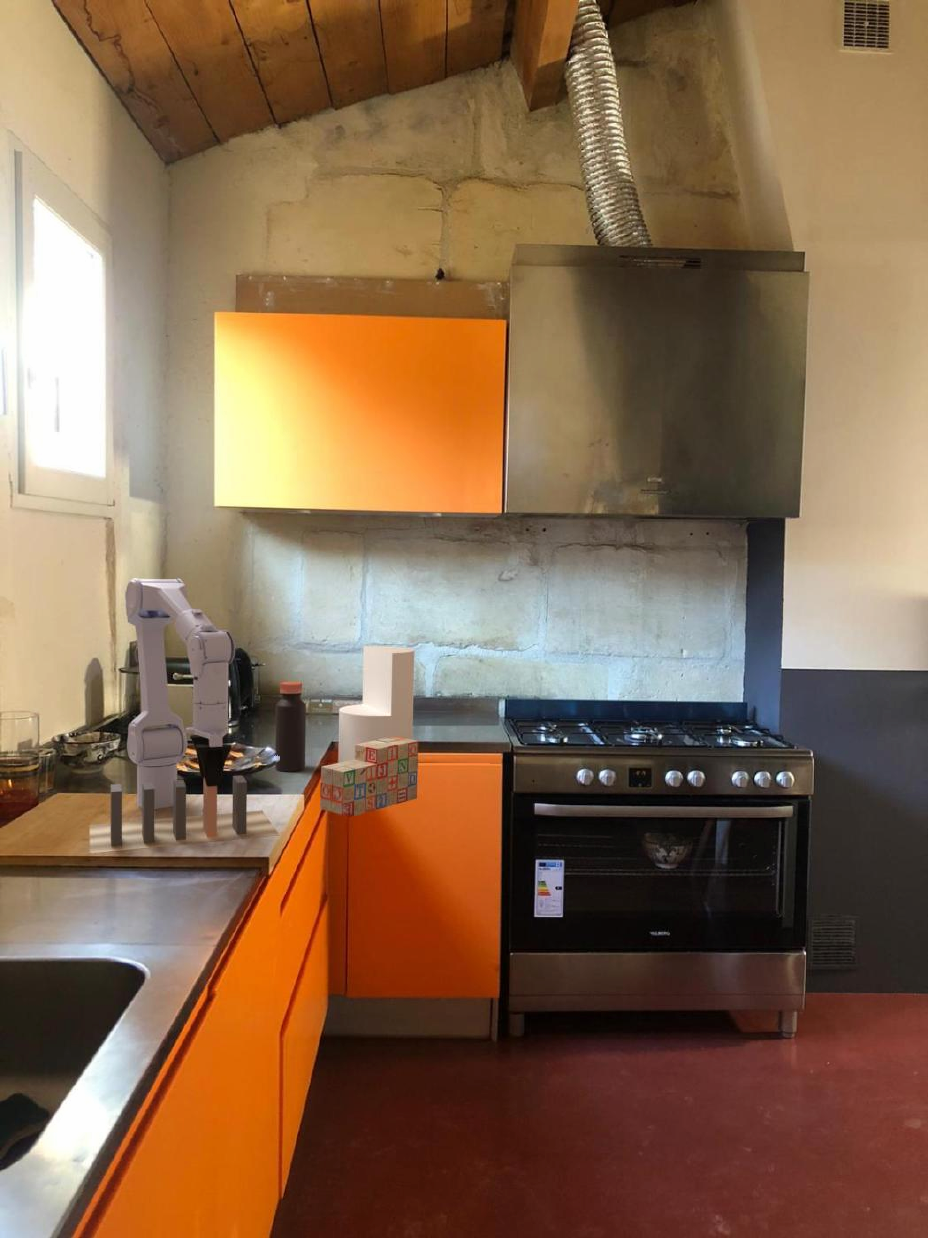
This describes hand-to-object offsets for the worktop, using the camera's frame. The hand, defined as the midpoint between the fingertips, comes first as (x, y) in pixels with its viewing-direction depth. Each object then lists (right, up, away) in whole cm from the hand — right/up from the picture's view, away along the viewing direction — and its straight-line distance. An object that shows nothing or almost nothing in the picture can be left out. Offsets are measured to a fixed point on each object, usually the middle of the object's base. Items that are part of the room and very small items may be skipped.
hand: (210, 780), depth 151 cm
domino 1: (-14, -9, -5) cm, 18 cm away
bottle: (+3, -7, +53) cm, 54 cm away
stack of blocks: (+25, -10, +24) cm, 36 cm away
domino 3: (-5, -9, -1) cm, 10 cm away
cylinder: (+23, -8, +56) cm, 61 cm away
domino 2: (-9, -9, -3) cm, 14 cm away
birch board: (-5, -10, +2) cm, 11 cm away
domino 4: (0, -9, +1) cm, 9 cm away
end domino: (+4, -9, +3) cm, 10 cm away
